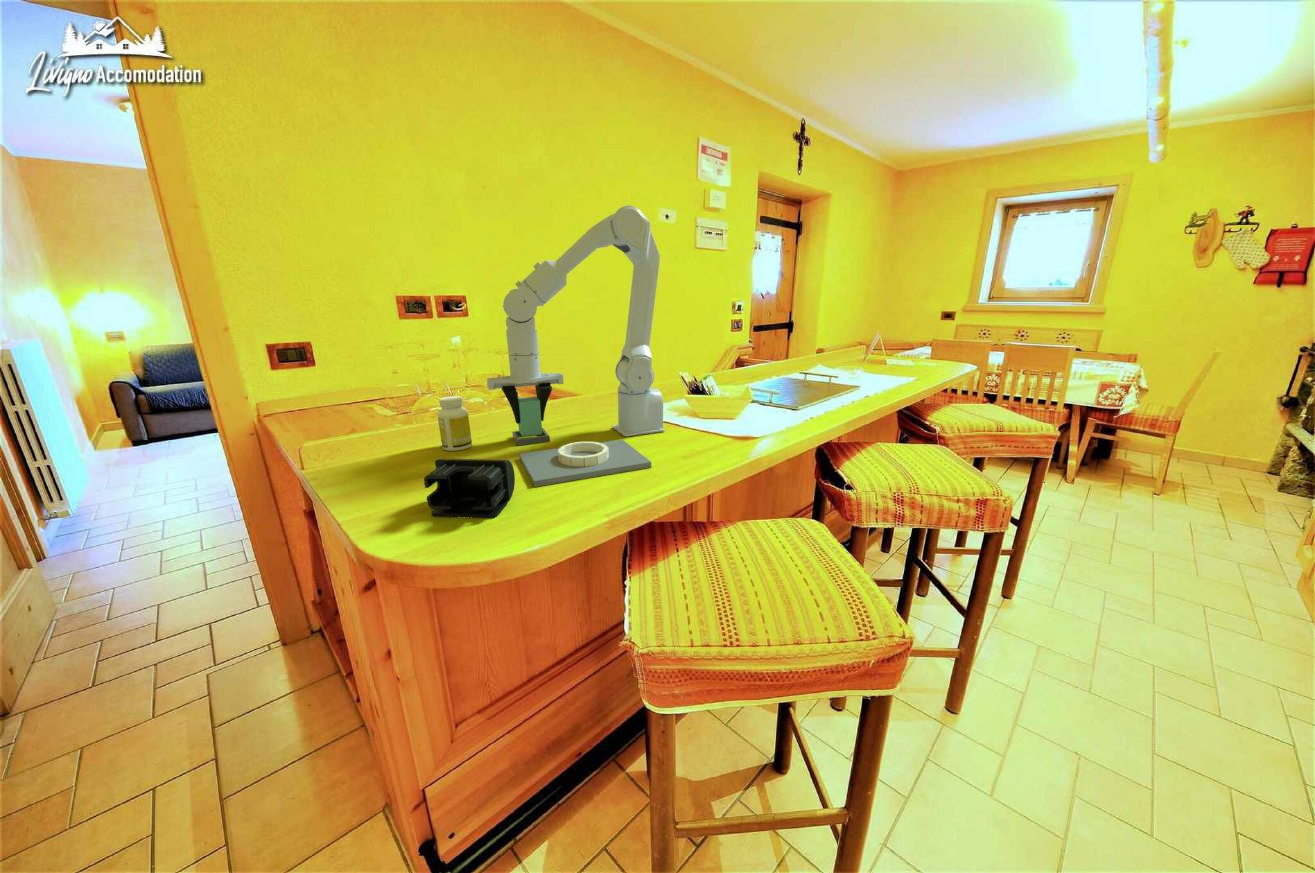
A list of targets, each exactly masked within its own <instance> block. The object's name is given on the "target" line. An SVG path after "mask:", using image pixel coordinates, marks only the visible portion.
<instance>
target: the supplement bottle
mask: <svg viewBox="0 0 1315 873" xmlns="http://www.w3.org/2000/svg"><path fill="white" fill-rule="evenodd" d="M463 404H464V402H463V397H462V396H456V395H455V396H454V395H453V396H452V395H451V396H445V397H442V398H439V406H440V408H441V409H440V410H439V411H438V412H437V421H438V422H437V423H438V427H439V434H440V436H439V437H440V441H441V446H442V450H445V451H448V452H449V451H450V452H454V451H455V452H456V451H463V450H466V449H469V448H471V446H472V444H473V440H472V432H471V426H470V425H471V424H470V419H469V418H470V417H469V412H468V409H466V408H465V407H463Z"/></svg>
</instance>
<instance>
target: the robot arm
mask: <svg viewBox="0 0 1315 873" xmlns="http://www.w3.org/2000/svg"><path fill="white" fill-rule="evenodd" d="M651 226H652V225H651V221H650V220H649V219H648V218H647V217H646V215H645V214H644V213H643V212H642V211H641V210H640V209H639V208H637V207H635V206H633V205H623V206H621V207H620V208H618V209H617V210H616V211H615V213H612V214H610V215H608V216H607V217H606V218H604V219H602V220H600V221H599V222H597V223H595V224H594V225H593V226H591V227H590V228H589V229H588V230H586V231H585V233H583V235H582V236H580V237H579V238H578V240H576V241H575V242H574V243H573V244H572V245H571V246H569V248H567V249H566V251H564V252H563V254H561V255H560V256H559V257H558V258H557V259H556V260H549V259H545V260H543V262H540V261H538V262H536V264H534V265H533V268H534V270H532V271H531V272H530V273H529V274H528V275H527V276H526V277H525V278H524V279H522V281H521V280H518V281H517V282H515V283H514V284H515V286H516V287H517V288H513V289H510V290H509V292H508V293H507V294H506V296H504V299H503V305H502V307H503V311H504V313H505V314H506V315H507V316H506V319H505V326H506V328H507V329H506V330H505V332H506V333H505V334H506V344H507V345H506V346H507V352H508V353H507V354H508V364H509V373H510V375H505V376H499V377H489V378H486V386H487V387H486V388H487V389H488V391H489V390H490V391H491V390H492V391H493V390H496V389H501V391H502V393H503V394H504V396H505V397H506V400H507V402H508V404H509V406H510V409H511V410H512V413H513V417H514V421H515V423H516V424H517V425H518V424H520V414H519V408H518V398H519V392H518V391H517V388H519V387H532V386H534V387H535V392H536V393H535V394H536V395H535V396H536V397H537V398H538V399H539V400H540V410H541V422H544V420H545V411H546V409H547V408H546V407H547V403H548V401H549V398H550V396H551V393H552V391H553V387H552V386H551V385H556V384H557V385H563V384H564V374H563V373H561V372H559V373H558V372H557V373H556V372H555V373H554V372H553V373H541V365H540V355H539V354H540V353H539V340H538V339H539V338H538V330H537V328H536V320H535V319H536V318H535V316H536V314H537V310H538V307H544V305H546V304H547V303H548V302H550V300H552V299H553V298H554V297H555V296H556V295H557V294H558V293H559V292H560V291H561V290H563V289H564V288H565V287H566V285H567V276H568V274H569V273H571V272H572V271H573V270H574V269H575V268H576V267H577V266H578V265H580V264H581V263H582V262H583V261H584V260H586V259H587V258H588V257H589V256H590V255H592V254H593V252H595V251H596V250H597V249H603V248H608V247H610V246H613V247H614V248H616V249H618V250H620V251H621V252H622V253H624V255H625V256H626V257H627V259H628V260H629V261H630V262H631V263H632V266H633V270H632V277H631V279H632V280H631V286H630V287H631V288H630V295H629V296H630V297H629V305H628V306H629V307H628V315H627V316H628V318H627V324H626V325H627V326H626V334H625V341H624V342H625V343H624V345H623V348H622V349H621V354H620V358H619V360H618V362H617V364H616V365H615V371H614V372H615V376H616V378H617V380H618V381H619V382H620V383H619V385H618V387H617V413H618V415H617V417H618V419H617V421H618V424H613V425H612V427H611V428H612V429H614V430H615V431H617V432H618V433H620V434H621V435H622V436H623V437H630V436H631V437H632V436H638V435H645V434H652V433H653V434H654V433H659V432H661V433H662V432H665V430H666V429H665V428H664V399H663V395H662V392H661V391H660V389H658V388H652V385H653V384H654V381H655V373H654V370H653V367H652V364H653V363H652V362H653V357H652V356H653V355H652V353H651V349H650V342H651V334H652V329H653V328H652V326H653V319H654V318H653V317H654V310H655V304H656V295H657V293H656V292H657V287H658V279H659V278H658V277H659V271H660V262H661V255H660V253H659V250H658V247H657V244H656V241H655V238H654V236H653V232H652V229H651Z"/></svg>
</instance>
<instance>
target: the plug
mask: <svg viewBox="0 0 1315 873" xmlns="http://www.w3.org/2000/svg"><path fill="white" fill-rule="evenodd" d="M518 408H519V414H520V424H517V425H518V431H519V432H520V434H521V435H522V436H523V437H528V436H529V437H530V435H531V436H536V435H538V434H539V435H542V428H543V424H542V421H541V410H540V400H539V399H538V398H537V396H527V397H518ZM539 435H538V436H539Z"/></svg>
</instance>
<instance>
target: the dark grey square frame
mask: <svg viewBox="0 0 1315 873" xmlns="http://www.w3.org/2000/svg"><path fill="white" fill-rule="evenodd" d="M539 435H540V434H538V436H534V437H532V435H530V436H531V437H530V436H529V437H525V438H522V437H524V436H522V435H521V434H520V432H519V430H514V431H512V435H511V436H512V438H513V441H514V442H515V443H516V446H517V447H519V446H525V445H534V444H541V443H549V442H551V439H550V438H551V437H550V434H549V433H548V432H547V431H546V430H545V429H544V427H542V434H541V436H539Z"/></svg>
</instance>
